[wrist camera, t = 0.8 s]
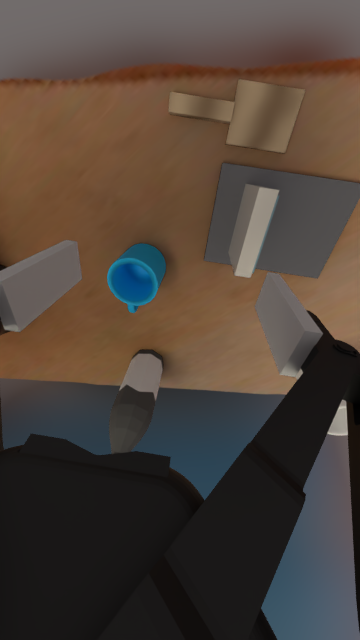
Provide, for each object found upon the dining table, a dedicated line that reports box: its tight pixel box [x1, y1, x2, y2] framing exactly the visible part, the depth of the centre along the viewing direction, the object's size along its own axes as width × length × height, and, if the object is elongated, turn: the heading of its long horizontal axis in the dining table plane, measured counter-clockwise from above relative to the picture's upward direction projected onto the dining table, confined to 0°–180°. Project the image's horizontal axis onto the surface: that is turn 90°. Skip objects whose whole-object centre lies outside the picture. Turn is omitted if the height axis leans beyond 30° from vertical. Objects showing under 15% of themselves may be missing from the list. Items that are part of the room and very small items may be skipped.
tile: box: [228, 184, 279, 278], centre depth 30 cm, size 2×10×10 cm, turn 173°
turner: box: [168, 79, 305, 154], centre depth 28 cm, size 16×6×2 cm, turn 82°
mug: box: [107, 243, 166, 313], centre depth 39 cm, size 12×8×8 cm
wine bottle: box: [109, 350, 163, 454], centre depth 43 cm, size 8×8×30 cm
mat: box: [204, 163, 360, 278], centre depth 34 cm, size 20×14×1 cm
